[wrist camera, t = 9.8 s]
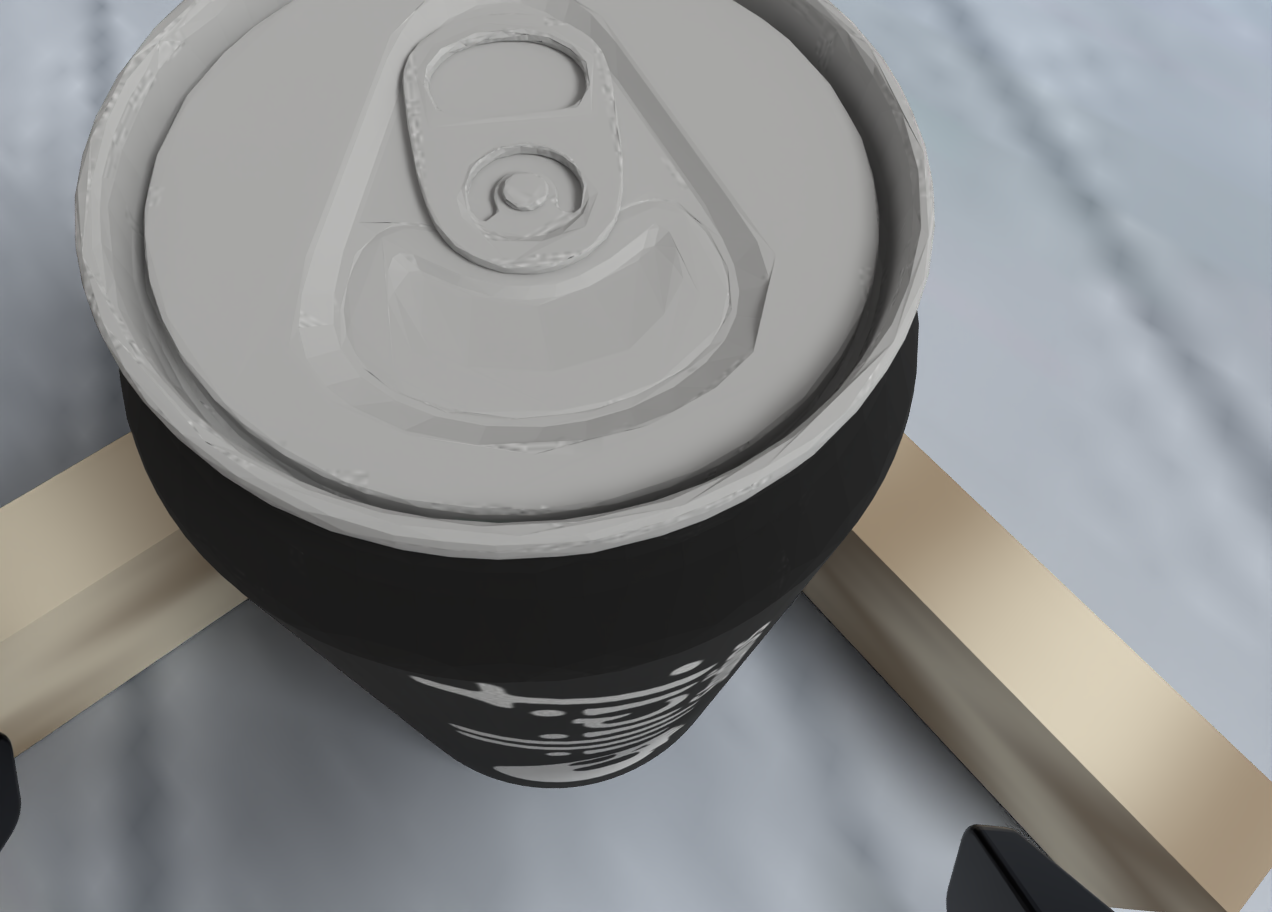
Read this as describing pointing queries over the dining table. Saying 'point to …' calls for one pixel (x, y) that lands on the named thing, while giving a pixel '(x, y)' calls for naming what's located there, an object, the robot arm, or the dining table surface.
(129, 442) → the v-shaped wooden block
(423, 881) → the dining table surface
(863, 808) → the dining table surface
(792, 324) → the beverage can
